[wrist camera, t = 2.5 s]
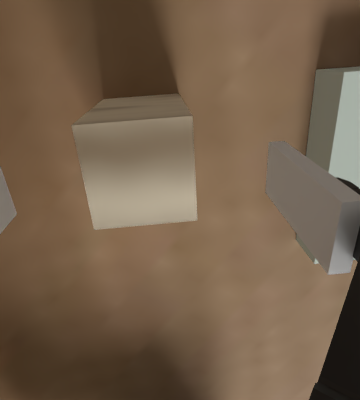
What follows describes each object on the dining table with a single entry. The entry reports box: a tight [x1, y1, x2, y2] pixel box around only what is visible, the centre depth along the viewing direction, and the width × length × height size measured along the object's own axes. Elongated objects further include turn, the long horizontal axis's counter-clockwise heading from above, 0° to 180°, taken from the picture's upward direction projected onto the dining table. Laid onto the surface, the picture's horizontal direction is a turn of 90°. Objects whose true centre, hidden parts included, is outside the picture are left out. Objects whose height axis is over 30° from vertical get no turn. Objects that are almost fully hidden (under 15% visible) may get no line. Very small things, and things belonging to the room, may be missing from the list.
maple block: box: [71, 93, 197, 230], centre depth 21 cm, size 6×6×10 cm
